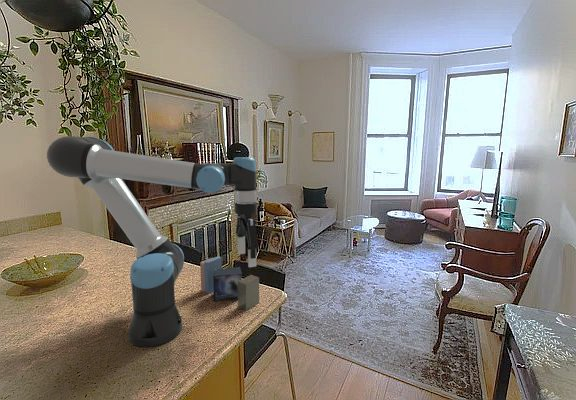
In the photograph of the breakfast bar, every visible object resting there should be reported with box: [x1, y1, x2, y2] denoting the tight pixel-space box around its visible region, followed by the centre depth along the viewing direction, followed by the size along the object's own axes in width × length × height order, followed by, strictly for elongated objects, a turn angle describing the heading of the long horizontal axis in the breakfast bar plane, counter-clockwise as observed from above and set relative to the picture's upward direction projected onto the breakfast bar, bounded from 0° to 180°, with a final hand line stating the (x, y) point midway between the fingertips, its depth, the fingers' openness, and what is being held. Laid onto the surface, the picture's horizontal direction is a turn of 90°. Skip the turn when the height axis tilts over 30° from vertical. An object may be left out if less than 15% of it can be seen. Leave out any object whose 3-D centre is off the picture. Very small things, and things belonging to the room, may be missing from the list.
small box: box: [212, 266, 243, 302], centre depth 114 cm, size 11×6×10 cm, turn 105°
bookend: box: [237, 274, 260, 312], centre depth 107 cm, size 7×4×10 cm, turn 145°
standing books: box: [199, 256, 223, 295], centre depth 119 cm, size 7×5×13 cm, turn 145°
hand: (246, 259), depth 106 cm, fingers open, 13 cm apart
